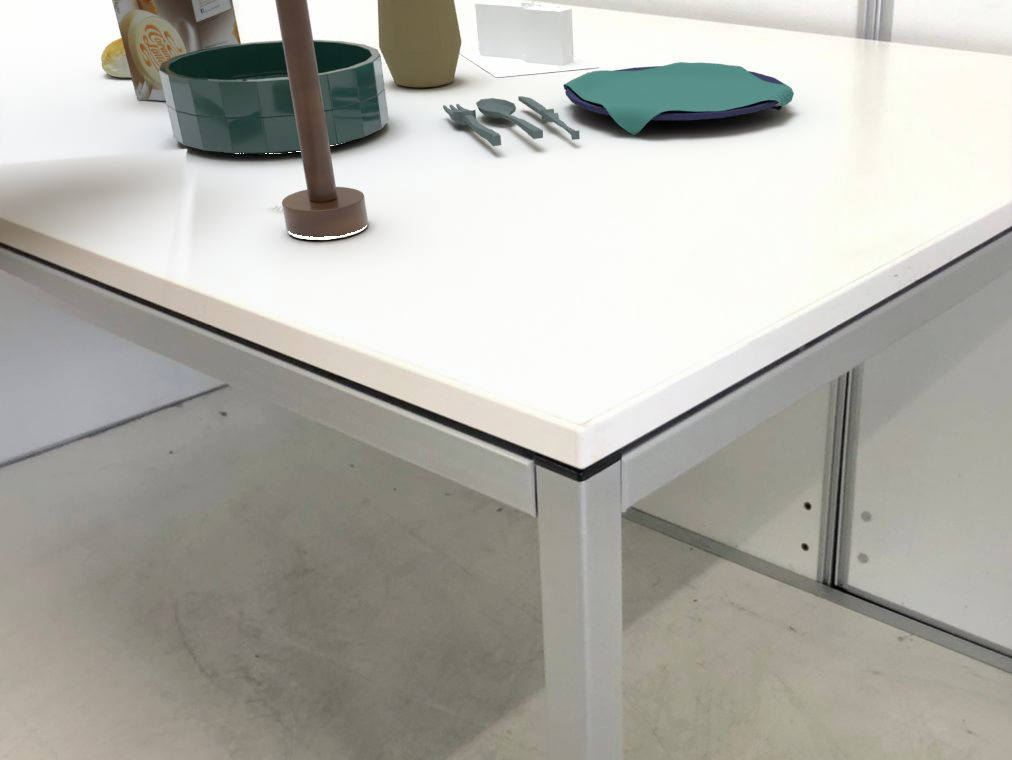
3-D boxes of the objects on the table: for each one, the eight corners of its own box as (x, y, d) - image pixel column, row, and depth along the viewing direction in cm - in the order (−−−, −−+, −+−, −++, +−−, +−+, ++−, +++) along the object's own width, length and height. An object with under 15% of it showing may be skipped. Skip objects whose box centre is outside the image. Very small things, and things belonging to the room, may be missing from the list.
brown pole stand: (288, 245, 70) (237, -32, 62) (286, 220, 75) (238, -42, 66) (372, 236, 72) (333, -36, 63) (364, 212, 76) (327, -46, 68)
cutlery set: (829, 122, 95) (832, 94, 94) (493, 163, 86) (490, 133, 84) (725, 78, 111) (726, 54, 110) (431, 109, 101) (428, 82, 100)
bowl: (171, 169, 85) (152, 88, 82) (181, 118, 100) (166, 47, 97) (399, 149, 90) (389, 71, 87) (378, 102, 104) (369, 34, 101)
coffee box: (254, 91, 109) (219, -93, 101) (214, 105, 104) (174, -87, 95) (174, 86, 111) (134, -94, 103) (132, 100, 106) (86, -89, 98)
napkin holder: (456, 52, 125) (451, -3, 122) (551, 44, 128) (549, -10, 125) (496, 77, 113) (492, 17, 110) (600, 67, 117) (598, 8, 114)
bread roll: (199, 61, 122) (191, 22, 120) (174, 79, 114) (165, 37, 112) (123, 63, 122) (114, 24, 120) (92, 80, 114) (82, 39, 112)
